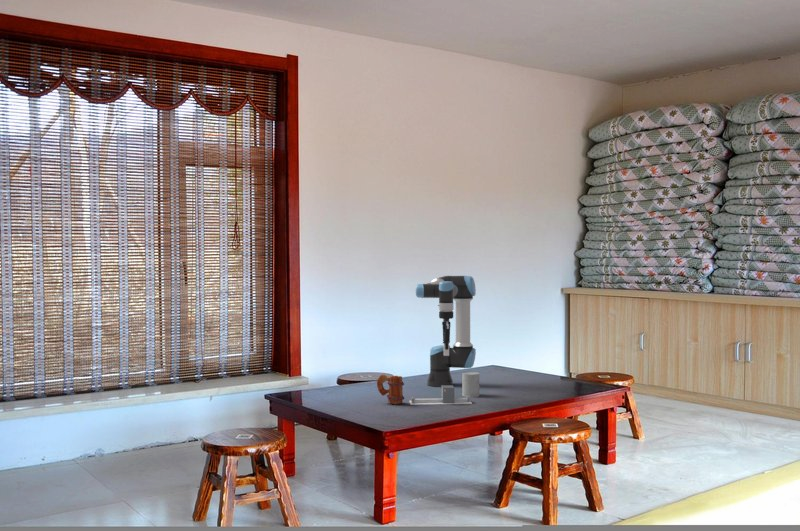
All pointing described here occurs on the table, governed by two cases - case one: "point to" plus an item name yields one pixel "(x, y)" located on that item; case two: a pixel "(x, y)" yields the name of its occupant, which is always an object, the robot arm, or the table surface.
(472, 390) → the light grey cylinder
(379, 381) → the mug
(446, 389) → the block
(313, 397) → the table surface
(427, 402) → the rail panel
